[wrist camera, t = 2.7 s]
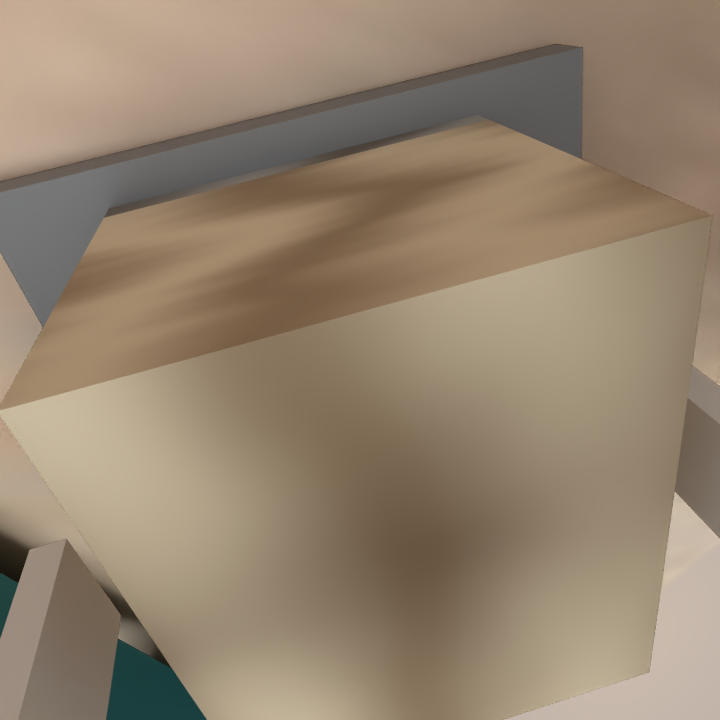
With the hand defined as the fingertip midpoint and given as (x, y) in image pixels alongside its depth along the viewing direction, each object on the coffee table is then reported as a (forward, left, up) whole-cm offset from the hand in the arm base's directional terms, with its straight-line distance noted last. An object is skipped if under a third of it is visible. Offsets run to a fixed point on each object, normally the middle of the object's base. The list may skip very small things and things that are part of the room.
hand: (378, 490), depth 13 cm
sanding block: (0, 0, -6) cm, 6 cm away
